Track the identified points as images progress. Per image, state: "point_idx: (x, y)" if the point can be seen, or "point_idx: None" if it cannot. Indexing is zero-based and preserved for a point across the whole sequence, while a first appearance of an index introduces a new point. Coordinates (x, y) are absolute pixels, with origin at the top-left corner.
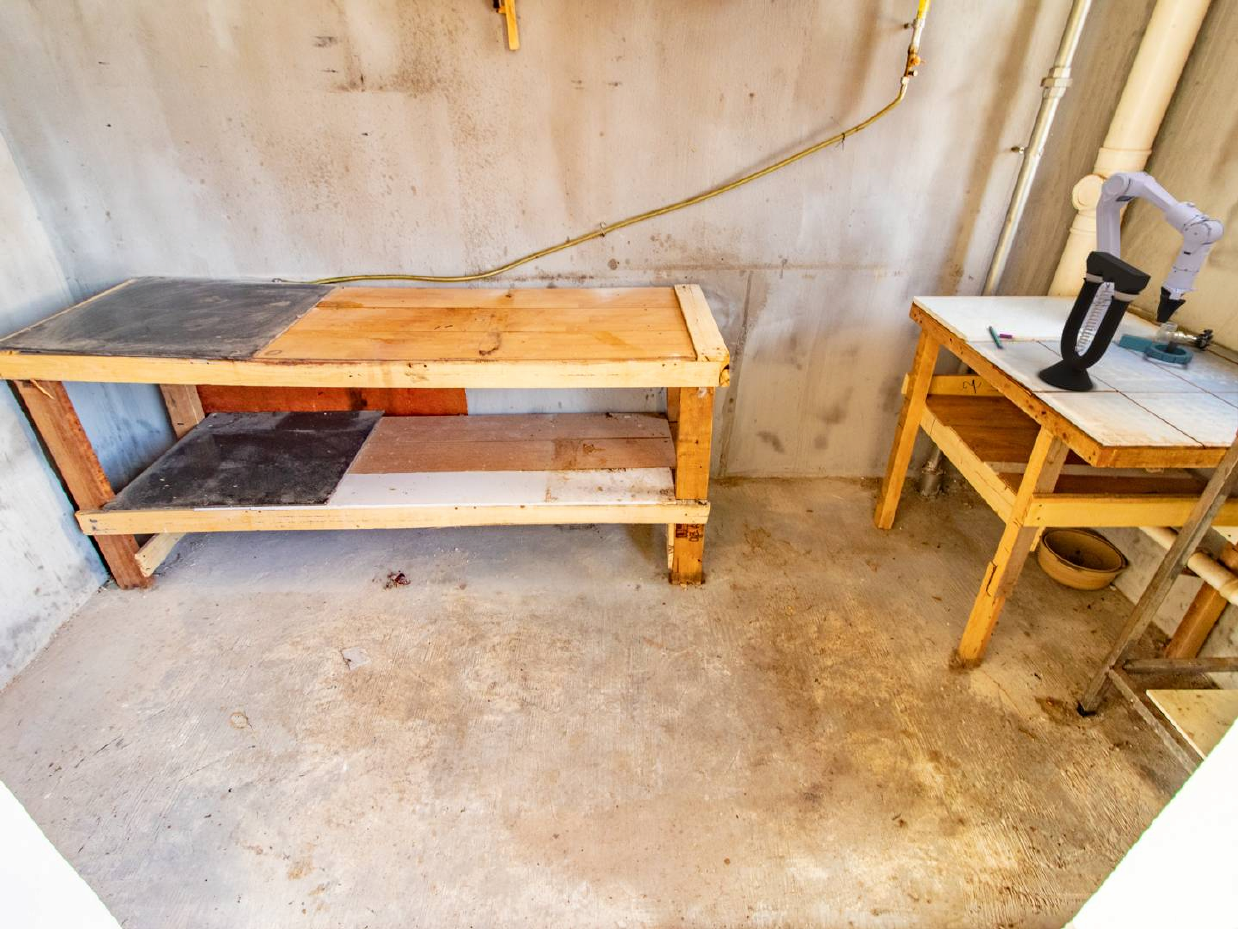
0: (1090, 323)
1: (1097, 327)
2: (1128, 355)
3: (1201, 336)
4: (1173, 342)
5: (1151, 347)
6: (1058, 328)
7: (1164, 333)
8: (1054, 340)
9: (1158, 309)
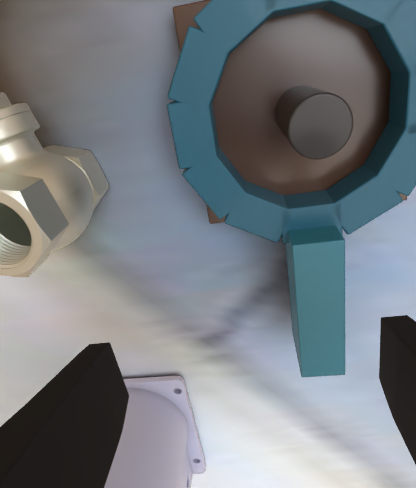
0: (183, 465)
1: (176, 432)
2: (362, 264)
3: None
4: (349, 129)
5: (351, 218)
6: (218, 484)
7: (76, 212)
8: (373, 477)
9: (118, 434)
